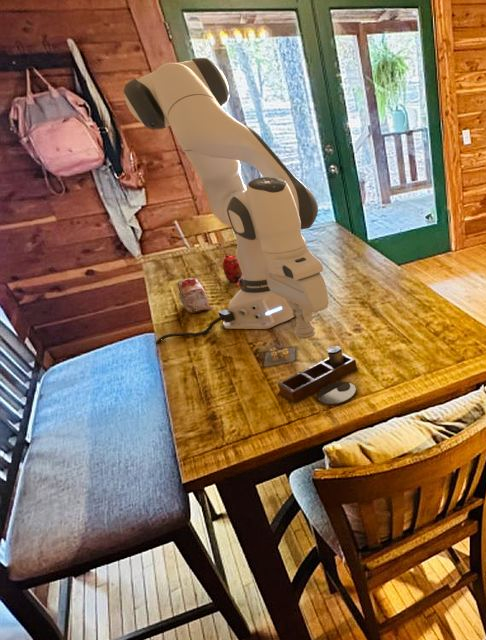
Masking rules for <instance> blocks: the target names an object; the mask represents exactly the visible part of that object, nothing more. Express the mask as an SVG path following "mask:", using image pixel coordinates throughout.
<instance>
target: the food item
mask: <svg viewBox="0 0 486 640" xmlns="http://www.w3.org/2000/svg"><path fill="white" fill-rule="evenodd" d="M177 288H178V290H177V293H178V297H179V300H180V301H181V304H182V306H183V307H184V309H185V310H186V311H187V312H189V313H190V314H194V313H195V314H196V313H200V312H205V311H208V310H210V309H211V307H210V301H209V298H208V296H207V292H206V291H205V289H204V287H203V285H202V284H201V282H200V281H199V280H198V278H194V277H191V278H189V277H188V278H184V279H181V280H179V281H178V282H177ZM196 310H197V311H196ZM191 311H192V312H191Z"/></svg>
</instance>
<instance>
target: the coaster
mask: <svg viewBox="0 0 486 640" xmlns="http://www.w3.org/2000/svg"><path fill="white" fill-rule="evenodd" d="M356 394H357V387H356V386H355V384H353V383H352V382H349V381H338V382H333V383H331V384H329V385H327V386H326V387H324V388H322V389H320V390H319V392H318V395H317V399H318V401H319V403H321V404H323V405H325V406H338V405H342V404H345V403H347V402H349V401H350V400H352V399H353V398H354V397H355V395H356Z"/></svg>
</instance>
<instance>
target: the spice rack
mask: <svg viewBox="0 0 486 640" xmlns="http://www.w3.org/2000/svg"><path fill="white" fill-rule="evenodd" d="M342 354H343V359H344V364H342V365H340V366H338V367H336V368H335V369H334V368H333V367H331V363H330V359H329V357H327V358H325V359H323V360H321V361H319V362H317V363H315V364H313V365H311V366H308V367H307V368H305V369H303V370H301V371H299V372H298V373H295V374H293V375H292V376H288V377H287V378H285V379H283V380H281V381H279V382H277V386H278V389H279V393H280V394H281V395H283V396H284V397H285V398H287V399H288V400H290V401H292V402H293V403H294V404H295V403H298V402H300V401H301V400H303V399H305V398H307V397H309V396H311V395H312V394H315V393H316V392H318V391H321V390H322V389H323V388H324V387H326V386H328V385H330V384H333V383H336V381H338V380H340V379H342V378H344V377H346V376H348V375H349V374H351V373H354V372H355V371H356V370H358V367H357V362H356V359H355V358H353V357H351V356H349V355H348V354H345V353H343V352H342Z"/></svg>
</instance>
